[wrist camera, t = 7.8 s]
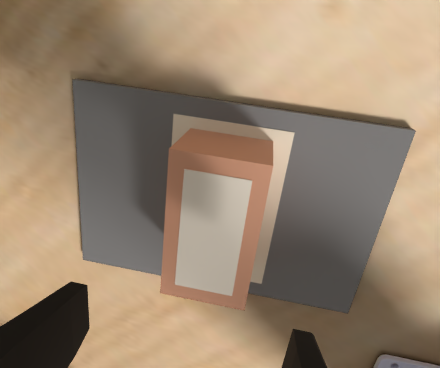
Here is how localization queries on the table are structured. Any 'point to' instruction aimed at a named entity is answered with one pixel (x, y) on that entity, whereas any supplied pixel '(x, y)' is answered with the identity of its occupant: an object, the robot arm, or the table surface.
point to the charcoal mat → (277, 194)
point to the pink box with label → (214, 215)
